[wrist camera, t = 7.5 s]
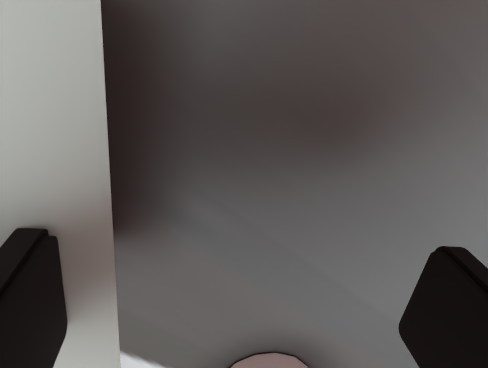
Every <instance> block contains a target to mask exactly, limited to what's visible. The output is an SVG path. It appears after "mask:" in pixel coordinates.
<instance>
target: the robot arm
mask: <svg viewBox="0 0 488 368" xmlns="http://www.w3.org/2000/svg"><path fill="white" fill-rule="evenodd" d="M67 325H68V323H67V313H66V304H65V296H64V288H63V279H62V271H61V262H60V254H59V246H58V239H57V237H56V236H49V234H48V230H47V229H36V228H17V229H16V230H14V231H13V233H12V234H11V235H10V236H9V237H8V239H7V240H6V241H5V242H4V243H3V245H2V246H1V247H0V368H53V366H54V364H55V361H56V359H57V356H58V354H59V352H60V349H61V347H62V344H63V342H64V339H65V336H66V332H67ZM399 333H400V336H401V338H402V340H403V341H404V343H405V345H406V346H407V348H408V350H409V351H410V353H411V355H412V356H413V358H414V359H415V361H416V363H417V364H418V366H419V368H488V268H487V267H485V266H484V265H483V264H482V263H481V262H480V261H479V260H478V259H477V258H476V257H474V256H473V255H472V254H471V253H470V252H469V251H468V250H466V249H465V248H462V247H448V246H441V247H438V248H437V249H436V250H435V252H432V253H431V254H430V256H429V258H428V260H427V263H426V265H425V267H424V269H423V271H422V274H421V276H420V278H419V280H418V283H417V285H416V287H415V289H414V291H413V294H412V296H411V298H410V300H409V303H408V305H407V307H406V309H405V311H404V314H403V316H402V318H401V320H400V323H399Z"/></svg>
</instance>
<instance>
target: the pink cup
mask: <svg viewBox="0 0 488 368" xmlns="http://www.w3.org/2000/svg"><path fill="white" fill-rule="evenodd" d="M231 368H308V366H306V365H305V364H304V363H302V362H301V361H300V360H298V359H297V358H296V357H293V356H289V355H285V354H280V353H267V354H258V355H253V356H251V357H248V358H246V359H244V360H241V361H239V362H237V363H235V364H234V365H233V366H232V367H231Z"/></svg>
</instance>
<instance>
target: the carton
mask: <svg viewBox="0 0 488 368" xmlns="http://www.w3.org/2000/svg"><path fill="white" fill-rule="evenodd" d="M17 228H36V229H47V230H48V234H49V236H56V237H57V239H58V246H59V254H60V262H61V271H62V279H63V288H64V296H65V304H66V313H67V323H68V325H67V332H66V336H65V339H64V342H63V344H62V347H61V349H60V352H59V354H58V356H57V359H56V361H55V364H54V366H53V368H120V351H119V332H118V314H117V296H116V277H115V259H114V240H113V222H112V204H111V185H110V167H109V148H108V130H107V111H106V93H105V75H104V56H103V38H102V19H101V1H100V0H0V247H1V246H2V245H3V243H4V242H5V241H6V240H7V239H8V237H9V236H10V235H11V234H12V233H13V231H14V230H16V229H17Z"/></svg>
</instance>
